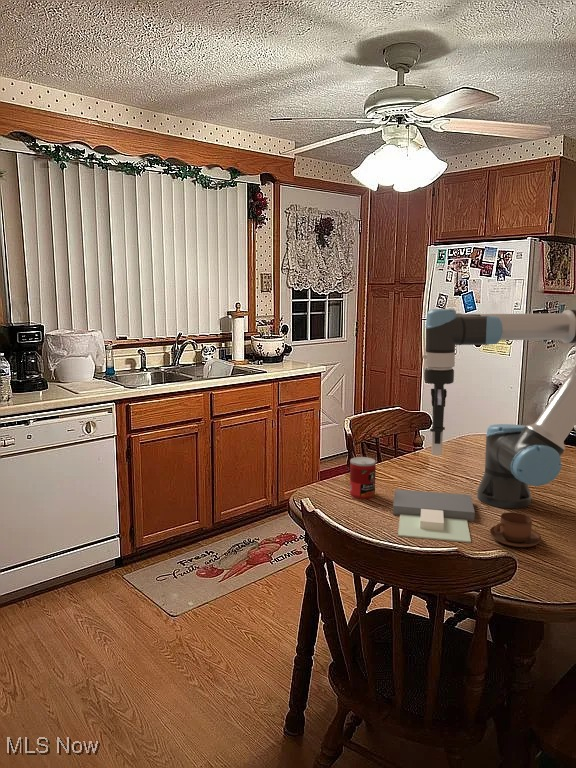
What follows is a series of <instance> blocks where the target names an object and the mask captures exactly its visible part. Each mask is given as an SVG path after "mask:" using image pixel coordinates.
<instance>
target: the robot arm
mask: <svg viewBox="0 0 576 768" xmlns="http://www.w3.org/2000/svg"><path fill="white" fill-rule="evenodd" d="M553 340H554V341H556V340H557V341H561V342H562V343H563V344H576V309H565V310H564V311H562V312H559V313H558V312H557V313H554V312H553V313H552V312H551V313H545V312H544V313H459V312H458V313H457V312H456V310H455V309H452V308H433V309H430V310H428V311H427V313H426V318H425V354H424V355H422V358H423V359H424V363H425V364H424V365H425V367H426V368H425V369H424V382H425V383H426V384H430V385H433V388H431V389H430V395H431V406H432V421H431V425H432V426H431V428H430V429H429V431H430V432H431V455H433V456H443V440H444V439H443V433H444V432H443V431H445V430H446V428H445V426H444V414H445V407H446V398H447V395H448V394H447V393H448V391H447V389H446V388H445V385H451V384H453V383H454V381H455V380H454V379H455V370H454V367H455V363H456V362H455V359H456V349H455V348H456V346H480V345H481V346H489V345H497V344H498V343H500V341H553ZM575 426H576V364H575V365H574V367H573V368H572V370H571V371H570V372H569V374H568V375H567V377H566V378H565V380H564V381H563V382H562V384H561V385H560V387H559V388H558V389H557V391H556V392H555V394H553V396H552V398H551V400H550V401H549V403H548V404H547V405H546V406H545V408H544V410H543V411H541V414H540V415H539V417H538V418H537V419H536V421H535V422H534V423H531V424H527V425H526V424H525V425H524V424H513V423H510V424H508V423H504V424H503V423H500V424H492V425H489V426H488V427H487V430H486V435H485V438H486V440H485V458H484V459H485V460H484V473H483V476H482V478H481V480H480V483H479V485H478V488H477V493H476V494H477V495H476V496H477V497H476V498H477V499H478V500H479V501H480V502H482V503H483V504H486V505H489V506H492V507H496V508H502V509H503V508H504V509H521V508H526V507H529V506H530V505H531V503H532V501H531V500H532V494H531V490H530V486H533V487H539V486H544V485H547V484H550V483H551V482H552V481H554V480H555V479H556V478H557V477H558V475H559V474H560V472H561V469H562V458H561V456H562V455H563V454H564V452H565V451H566V447H565V442H564V441H565V440H566V439H567V438H568V436H569V434H570V433H571V431H572V430H573V429H574V427H575Z"/></svg>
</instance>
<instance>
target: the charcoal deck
mask: <svg viewBox="0 0 576 768" xmlns="http://www.w3.org/2000/svg"><path fill="white" fill-rule="evenodd" d="M472 499H473V498H472V495H471V494H463V493H449V492H436V491H423V490H408V489H407V490H406V489H398V488H396V489H394V496H393V504H392V515H395V516H396V515H397V516H400V514H404V515H416V516H421V509H430V510H442V511H443V516H444V518H452V519H464V520H467V522H468V521H469V522H475V516H476V515H475V514H476V512H475V508H474V504H473V503H474V502H473V500H472Z"/></svg>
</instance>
